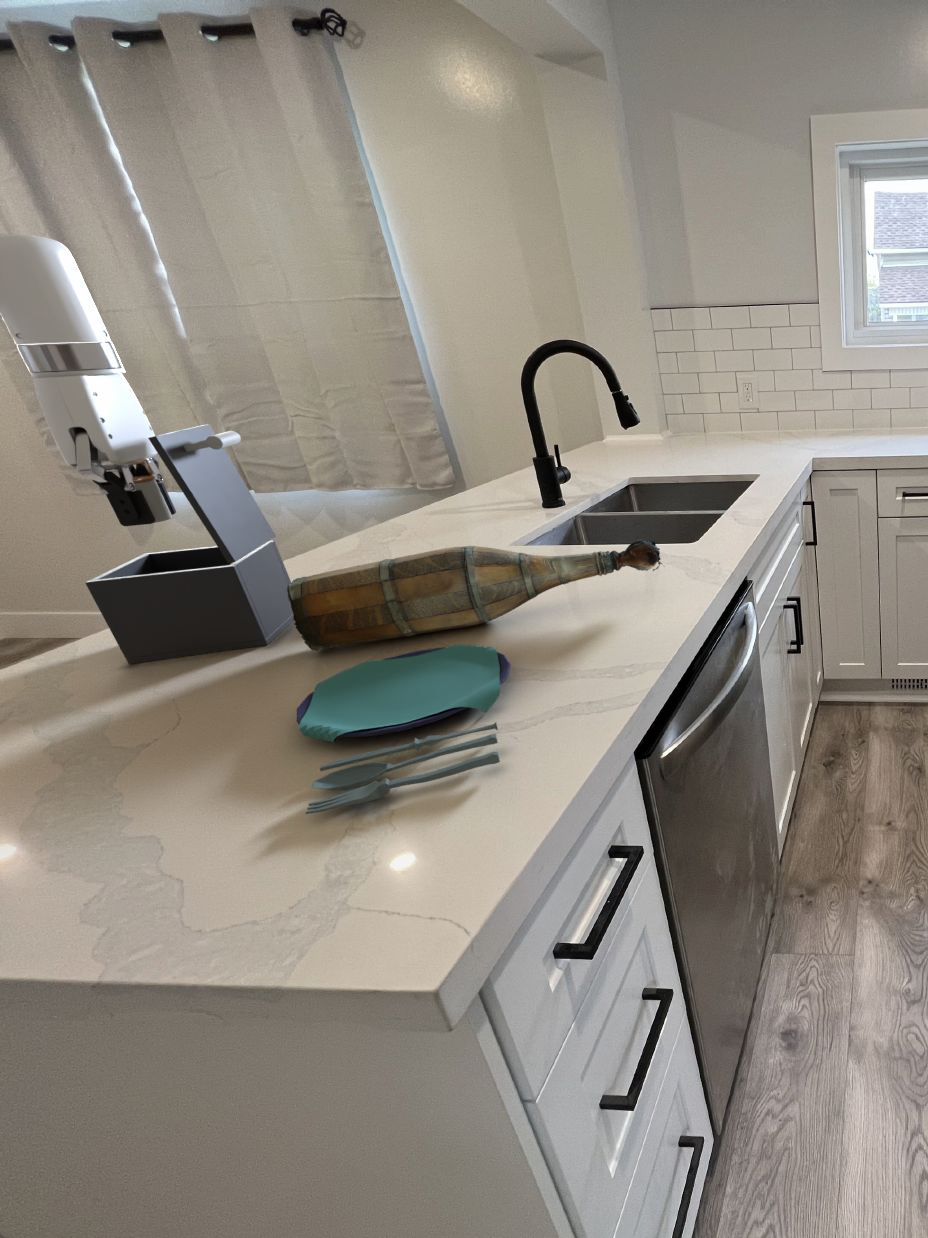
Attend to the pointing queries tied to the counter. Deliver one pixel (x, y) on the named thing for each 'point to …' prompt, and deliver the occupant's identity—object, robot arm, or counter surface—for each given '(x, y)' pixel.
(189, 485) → the lid
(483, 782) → the counter surface
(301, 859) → the counter surface
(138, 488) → the white cylinder
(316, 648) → the decorative bottle
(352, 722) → the cutlery set
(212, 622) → the dark grey lidded box
